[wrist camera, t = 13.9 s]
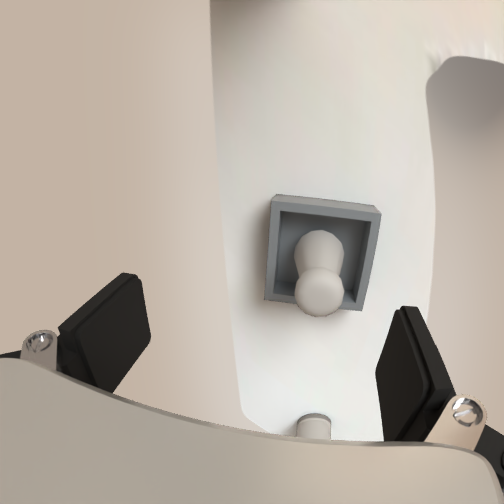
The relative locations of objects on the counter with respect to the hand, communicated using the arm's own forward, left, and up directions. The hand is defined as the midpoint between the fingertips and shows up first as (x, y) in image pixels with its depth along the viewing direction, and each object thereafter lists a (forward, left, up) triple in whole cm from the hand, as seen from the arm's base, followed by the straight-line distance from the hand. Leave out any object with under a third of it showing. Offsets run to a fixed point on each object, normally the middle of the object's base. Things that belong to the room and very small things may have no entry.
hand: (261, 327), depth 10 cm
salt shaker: (+6, +3, -27) cm, 28 cm away
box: (+6, +3, -28) cm, 28 cm away
